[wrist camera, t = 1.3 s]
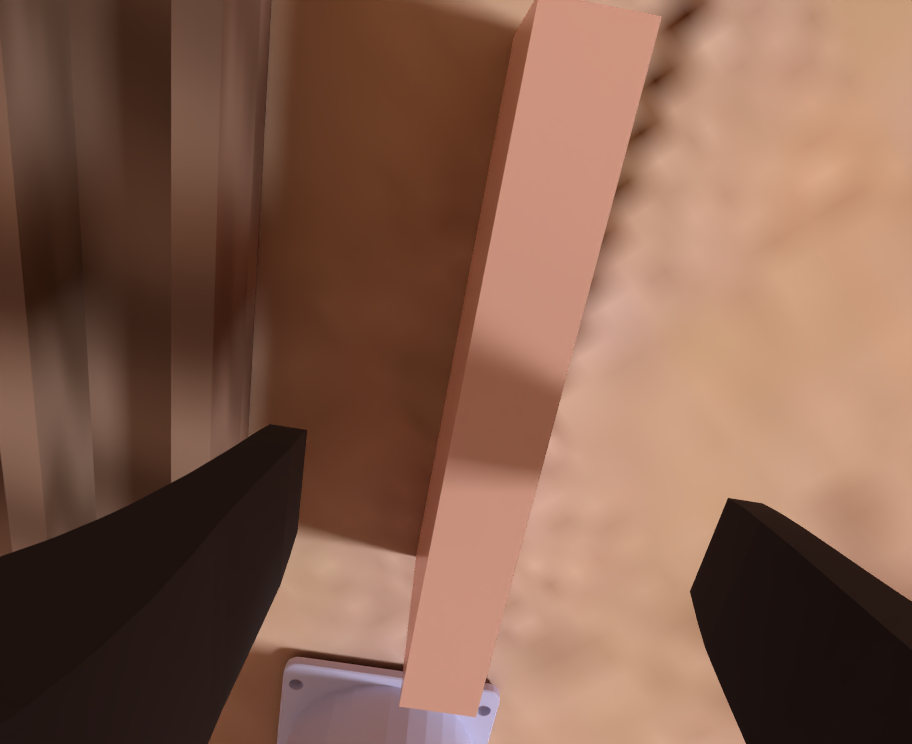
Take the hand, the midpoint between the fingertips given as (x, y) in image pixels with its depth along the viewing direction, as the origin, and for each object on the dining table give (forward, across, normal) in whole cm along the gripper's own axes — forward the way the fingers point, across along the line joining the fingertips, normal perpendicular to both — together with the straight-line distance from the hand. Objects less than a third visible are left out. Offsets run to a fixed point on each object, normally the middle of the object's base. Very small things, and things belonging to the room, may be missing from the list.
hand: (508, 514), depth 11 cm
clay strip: (+9, 0, 0) cm, 9 cm away
